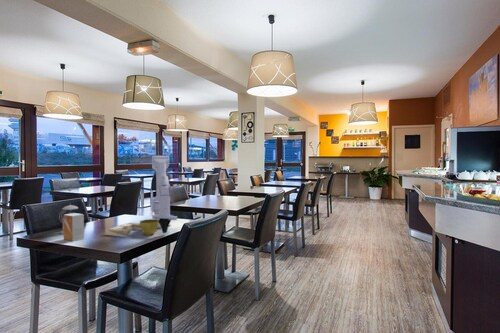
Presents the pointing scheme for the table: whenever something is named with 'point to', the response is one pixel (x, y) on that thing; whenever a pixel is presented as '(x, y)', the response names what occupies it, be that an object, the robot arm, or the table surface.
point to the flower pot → (149, 226)
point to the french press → (67, 209)
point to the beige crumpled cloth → (123, 229)
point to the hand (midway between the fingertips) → (164, 232)
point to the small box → (73, 226)
